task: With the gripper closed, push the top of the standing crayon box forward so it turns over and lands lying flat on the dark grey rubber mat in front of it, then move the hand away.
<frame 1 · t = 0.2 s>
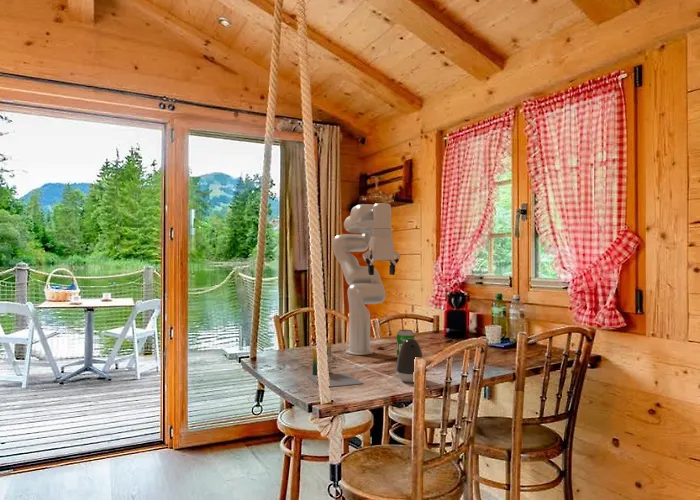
hand: (381, 274, 204), 36 cm above the table, tool pointing down, fingers open, 9 cm apart
mat: (334, 380, 175), on the table
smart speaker: (410, 381, 176), on the table
soda can: (405, 358, 214), on the table
crayon box: (322, 374, 185), on the table
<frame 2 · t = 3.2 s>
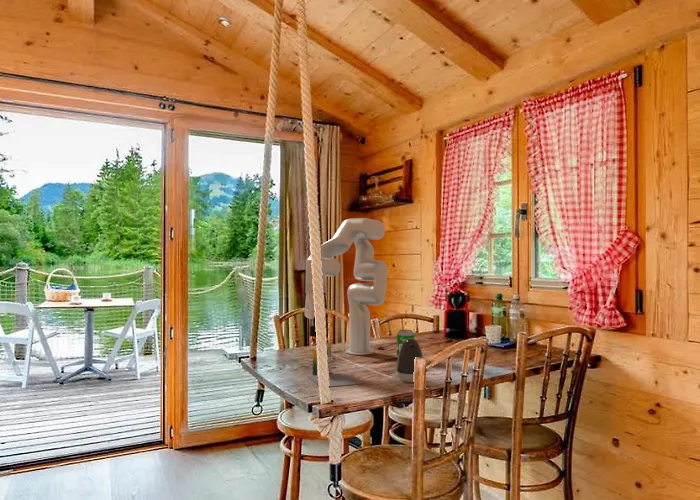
hand: (314, 336, 193), 13 cm above the table, tool pointing down, fingers closed
nothing on the table moved.
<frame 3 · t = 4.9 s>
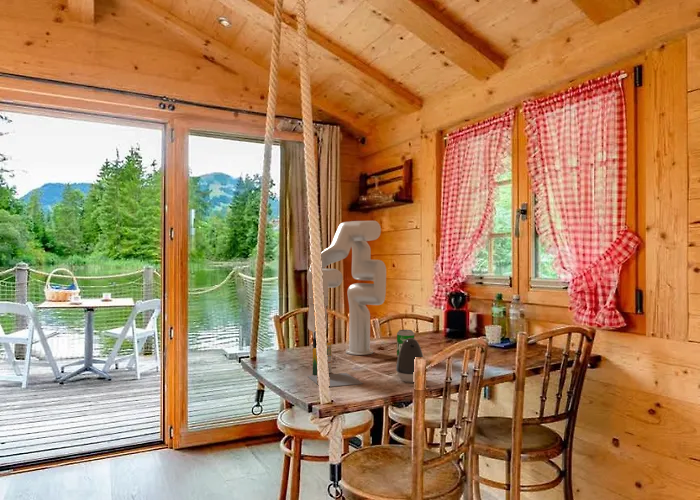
hand: (317, 349, 190), 8 cm above the table, tool pointing down, fingers closed
nothing on the table moved.
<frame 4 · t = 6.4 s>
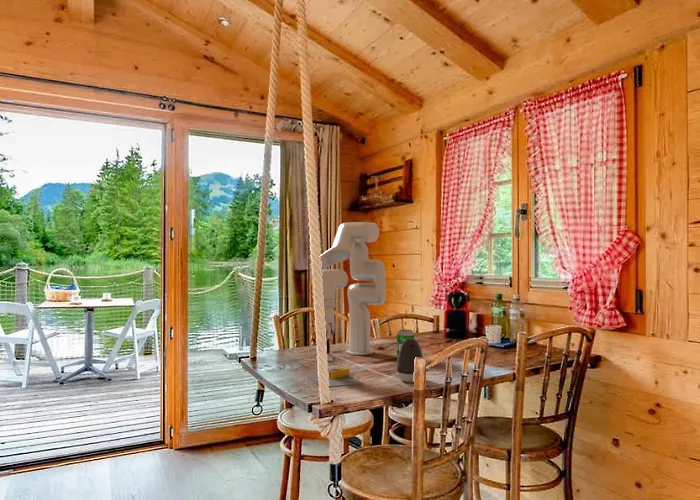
hand: (324, 353, 182), 8 cm above the table, tool pointing down, fingers closed
crayon box: (324, 369, 184), point 2 cm above the table, touching mat
everything else where it was.
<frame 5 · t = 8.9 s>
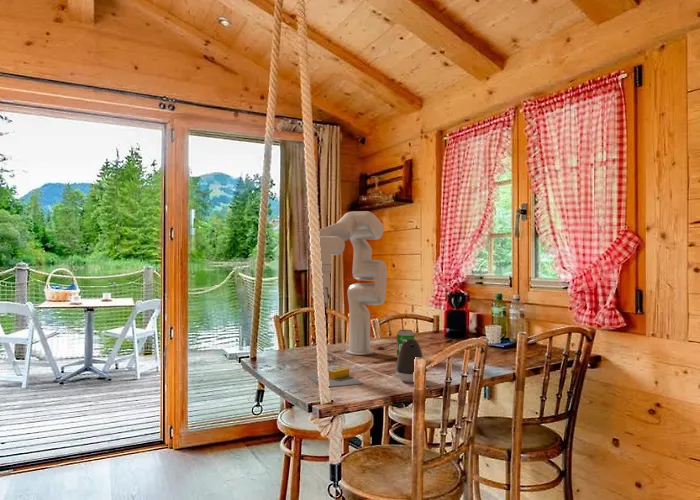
hand: (321, 317, 188), 21 cm above the table, tool pointing down, fingers closed
nothing on the table moved.
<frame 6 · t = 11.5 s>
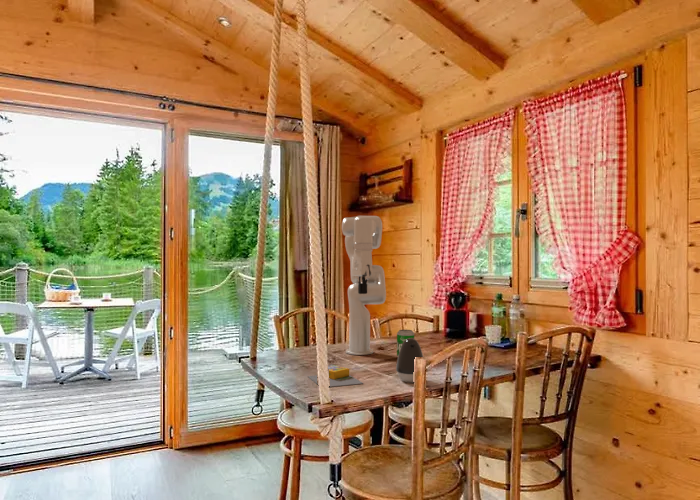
hand: (362, 293, 198), 29 cm above the table, tool pointing down, fingers closed
nothing on the table moved.
at the end: crayon box tilted 90°; crayon box inside the target area (9.0 cm from its centre), point 1.8 cm above the table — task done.
